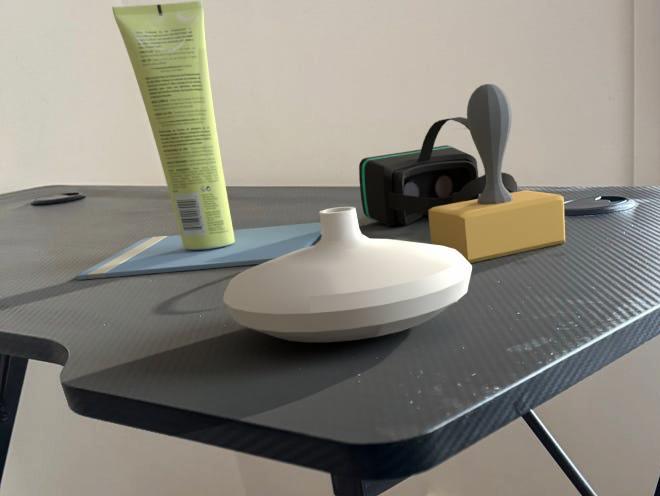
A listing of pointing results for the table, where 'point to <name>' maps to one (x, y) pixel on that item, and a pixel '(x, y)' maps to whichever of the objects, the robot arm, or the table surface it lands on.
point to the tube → (180, 114)
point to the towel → (205, 252)
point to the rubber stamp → (496, 195)
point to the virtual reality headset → (420, 180)
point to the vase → (347, 285)
